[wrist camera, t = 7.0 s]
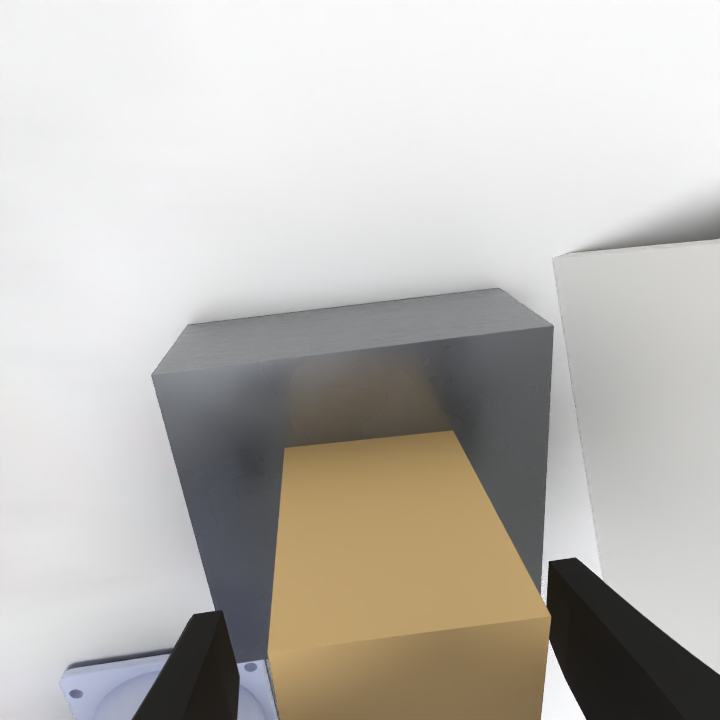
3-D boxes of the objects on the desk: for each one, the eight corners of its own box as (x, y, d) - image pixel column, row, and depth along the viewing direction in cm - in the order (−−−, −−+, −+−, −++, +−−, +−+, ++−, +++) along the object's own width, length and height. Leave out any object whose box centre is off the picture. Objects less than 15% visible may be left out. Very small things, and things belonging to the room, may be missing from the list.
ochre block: (452, 561, 15) (533, 789, 10) (302, 579, 15) (298, 824, 10) (453, 430, 14) (551, 616, 8) (284, 447, 13) (267, 652, 8)
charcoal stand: (497, 533, 20) (539, 617, 17) (245, 570, 20) (230, 664, 16) (498, 288, 17) (553, 325, 13) (187, 324, 16) (151, 375, 12)
